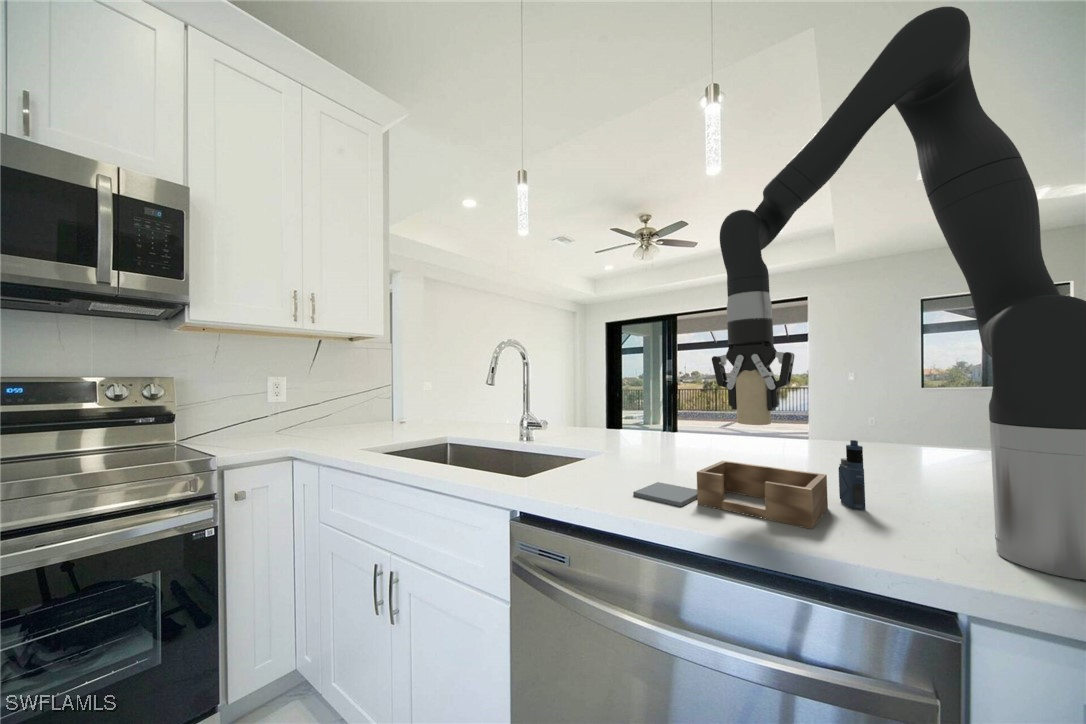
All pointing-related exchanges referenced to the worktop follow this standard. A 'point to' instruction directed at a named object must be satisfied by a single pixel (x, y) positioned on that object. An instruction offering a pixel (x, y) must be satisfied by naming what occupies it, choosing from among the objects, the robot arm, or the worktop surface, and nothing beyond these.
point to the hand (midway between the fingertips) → (753, 409)
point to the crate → (765, 491)
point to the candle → (752, 399)
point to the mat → (667, 493)
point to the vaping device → (852, 477)
